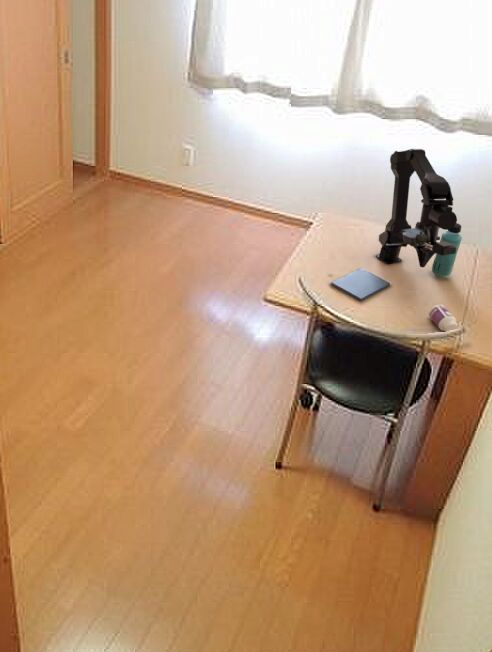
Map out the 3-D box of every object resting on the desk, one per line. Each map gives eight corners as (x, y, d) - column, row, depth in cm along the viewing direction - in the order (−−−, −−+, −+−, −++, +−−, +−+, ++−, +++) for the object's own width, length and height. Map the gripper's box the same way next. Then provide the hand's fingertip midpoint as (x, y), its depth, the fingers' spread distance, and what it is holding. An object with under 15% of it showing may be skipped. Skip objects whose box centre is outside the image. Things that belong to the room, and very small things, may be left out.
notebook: (360, 270, 227) (360, 267, 226) (389, 286, 219) (390, 283, 218) (330, 285, 218) (331, 282, 218) (360, 301, 210) (361, 298, 210)
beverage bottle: (452, 275, 226) (469, 224, 215) (445, 282, 221) (461, 231, 211) (434, 268, 229) (449, 217, 219) (426, 275, 225) (441, 224, 215)
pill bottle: (429, 320, 204) (444, 339, 196) (426, 307, 201) (441, 326, 193) (446, 313, 203) (462, 332, 195) (443, 301, 201) (459, 319, 193)
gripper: (388, 214, 209) (381, 260, 214) (433, 231, 192) (424, 280, 198) (415, 211, 213) (407, 256, 218) (461, 227, 197) (452, 275, 202)
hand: (422, 266), depth 209 cm, fingers closed
